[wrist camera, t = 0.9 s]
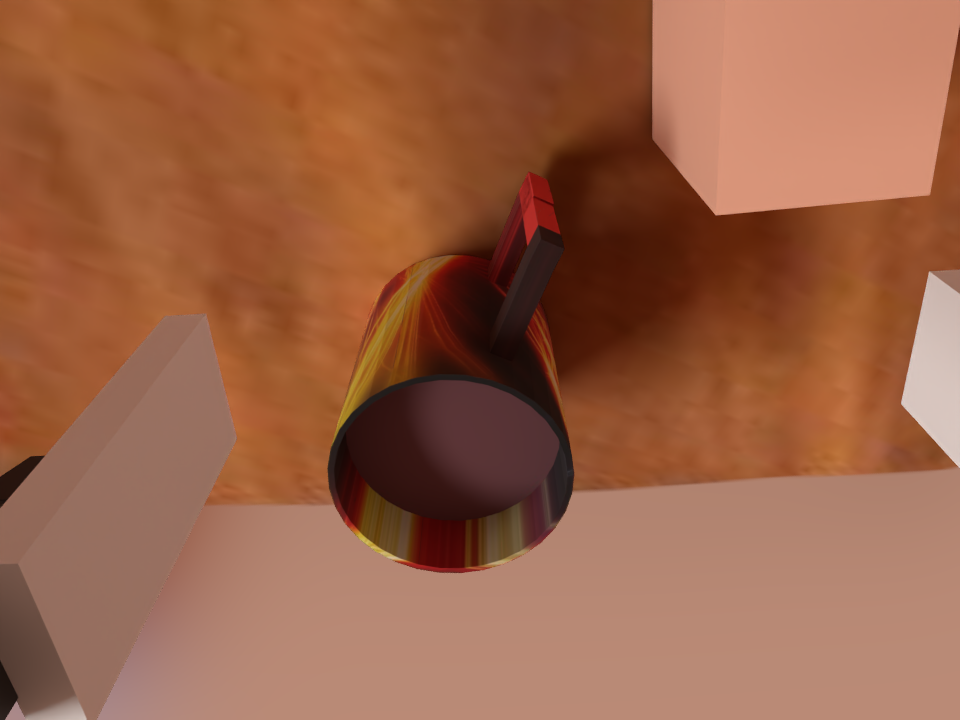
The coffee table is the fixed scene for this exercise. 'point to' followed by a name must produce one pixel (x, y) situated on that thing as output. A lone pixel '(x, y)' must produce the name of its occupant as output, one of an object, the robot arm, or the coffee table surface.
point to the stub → (801, 98)
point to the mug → (459, 407)
